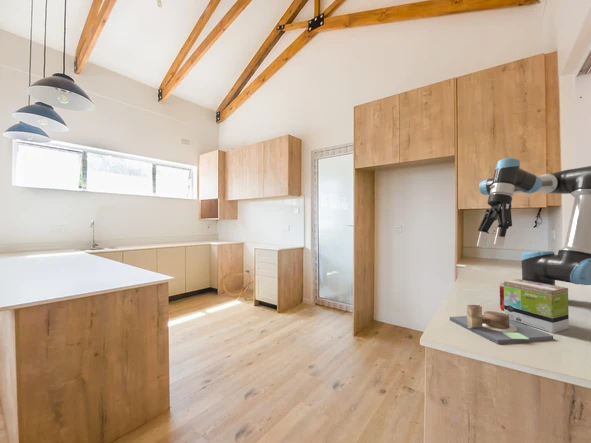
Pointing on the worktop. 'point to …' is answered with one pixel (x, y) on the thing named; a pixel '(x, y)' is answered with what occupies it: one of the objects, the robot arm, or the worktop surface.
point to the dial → (486, 317)
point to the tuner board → (505, 332)
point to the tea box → (537, 304)
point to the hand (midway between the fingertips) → (489, 246)
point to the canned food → (502, 296)
